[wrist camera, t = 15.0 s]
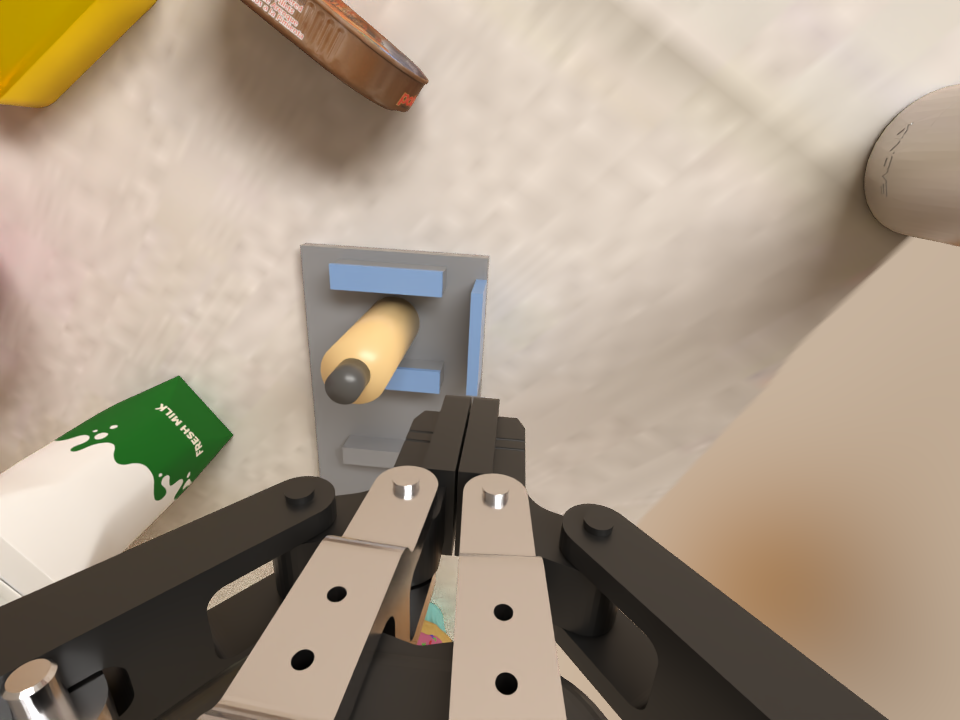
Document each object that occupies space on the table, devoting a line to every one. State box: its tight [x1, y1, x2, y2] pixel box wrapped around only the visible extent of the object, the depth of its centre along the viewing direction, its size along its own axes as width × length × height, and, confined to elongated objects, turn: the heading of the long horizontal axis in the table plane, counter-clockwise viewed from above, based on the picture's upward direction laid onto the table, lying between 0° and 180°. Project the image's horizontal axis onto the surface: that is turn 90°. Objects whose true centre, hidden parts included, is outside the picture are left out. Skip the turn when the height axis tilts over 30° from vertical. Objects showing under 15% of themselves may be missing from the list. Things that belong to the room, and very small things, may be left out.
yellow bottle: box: [321, 296, 420, 405], centre depth 33 cm, size 4×4×12 cm
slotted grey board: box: [300, 243, 489, 535], centre depth 40 cm, size 14×26×5 cm, turn 177°
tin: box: [241, 0, 428, 112], centre depth 28 cm, size 15×3×8 cm, turn 52°
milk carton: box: [0, 376, 233, 606], centre depth 35 cm, size 9×9×20 cm
